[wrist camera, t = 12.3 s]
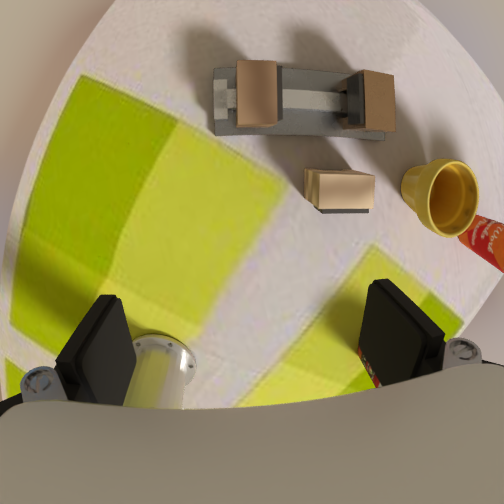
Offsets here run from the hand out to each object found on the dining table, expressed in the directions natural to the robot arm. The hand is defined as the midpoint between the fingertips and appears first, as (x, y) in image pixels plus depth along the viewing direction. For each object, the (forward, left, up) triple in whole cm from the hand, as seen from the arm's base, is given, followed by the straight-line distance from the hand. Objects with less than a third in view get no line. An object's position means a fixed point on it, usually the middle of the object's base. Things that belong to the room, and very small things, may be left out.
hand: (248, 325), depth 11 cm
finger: (+3, +12, -29) cm, 31 cm away
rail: (+10, +12, -30) cm, 34 cm away
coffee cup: (+42, -6, -30) cm, 52 cm away
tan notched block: (+13, +1, -30) cm, 33 cm away
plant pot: (+28, +1, -30) cm, 41 cm away
